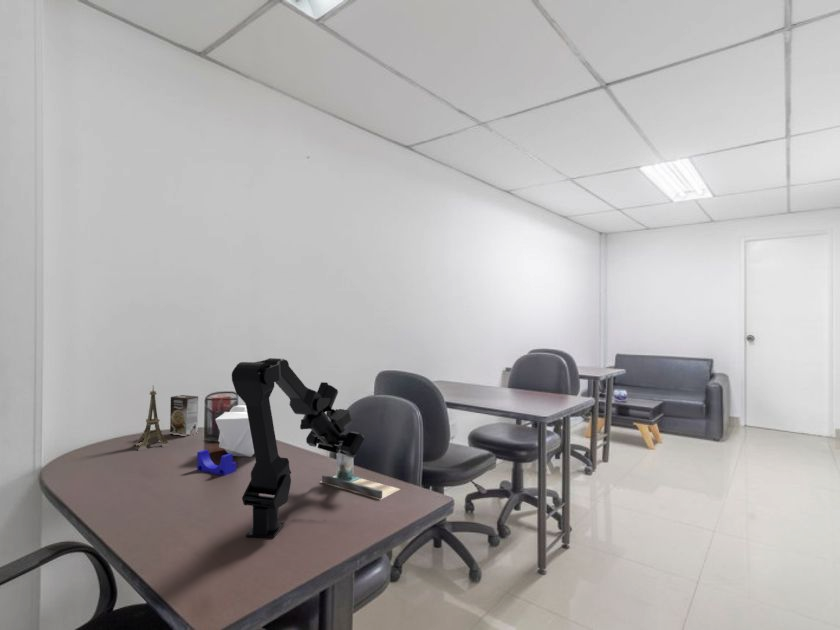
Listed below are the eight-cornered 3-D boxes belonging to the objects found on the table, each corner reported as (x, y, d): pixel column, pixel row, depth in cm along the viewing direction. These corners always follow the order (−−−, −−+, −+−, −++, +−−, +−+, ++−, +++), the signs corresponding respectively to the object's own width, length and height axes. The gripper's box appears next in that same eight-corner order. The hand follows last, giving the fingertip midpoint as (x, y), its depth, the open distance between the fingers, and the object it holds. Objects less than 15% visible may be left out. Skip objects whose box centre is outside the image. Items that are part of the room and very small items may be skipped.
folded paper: (245, 400, 174) (203, 410, 160) (286, 406, 161) (244, 419, 147) (248, 442, 175) (206, 457, 161) (288, 452, 162) (247, 469, 148)
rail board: (400, 491, 125) (400, 482, 125) (380, 502, 117) (380, 492, 117) (341, 475, 138) (341, 467, 138) (319, 484, 130) (319, 475, 130)
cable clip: (236, 471, 142) (236, 452, 142) (224, 476, 138) (224, 456, 138) (208, 466, 147) (209, 448, 147) (197, 470, 143) (197, 452, 143)
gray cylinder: (351, 478, 130) (351, 440, 130) (334, 478, 130) (334, 440, 131) (355, 472, 135) (355, 436, 135) (338, 472, 135) (339, 436, 136)
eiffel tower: (138, 451, 164) (139, 383, 164) (134, 445, 172) (134, 380, 172) (170, 446, 171) (171, 380, 171) (164, 440, 179) (165, 378, 179)
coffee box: (169, 435, 186) (169, 396, 187) (181, 431, 193) (182, 394, 193) (186, 437, 184) (186, 398, 184) (198, 433, 190) (198, 395, 190)
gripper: (360, 405, 125) (384, 436, 133) (313, 398, 135) (339, 428, 144) (339, 439, 118) (367, 469, 127) (293, 429, 128) (321, 458, 137)
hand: (348, 454), depth 134 cm, fingers closed on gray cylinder, 5 cm apart
